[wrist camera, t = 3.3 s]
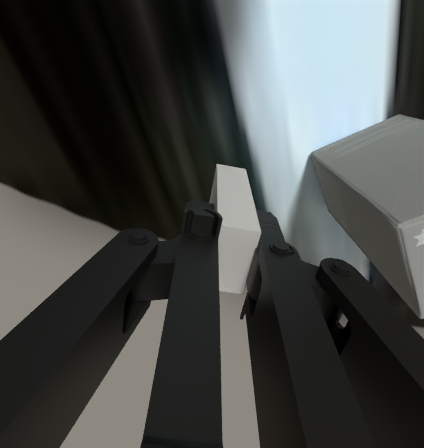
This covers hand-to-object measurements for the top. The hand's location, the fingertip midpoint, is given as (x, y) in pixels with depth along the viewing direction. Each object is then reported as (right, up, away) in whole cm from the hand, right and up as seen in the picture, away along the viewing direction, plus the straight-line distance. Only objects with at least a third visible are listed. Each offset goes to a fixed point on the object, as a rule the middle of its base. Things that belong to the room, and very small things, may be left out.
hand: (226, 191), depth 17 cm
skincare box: (+13, +4, +13) cm, 18 cm away
